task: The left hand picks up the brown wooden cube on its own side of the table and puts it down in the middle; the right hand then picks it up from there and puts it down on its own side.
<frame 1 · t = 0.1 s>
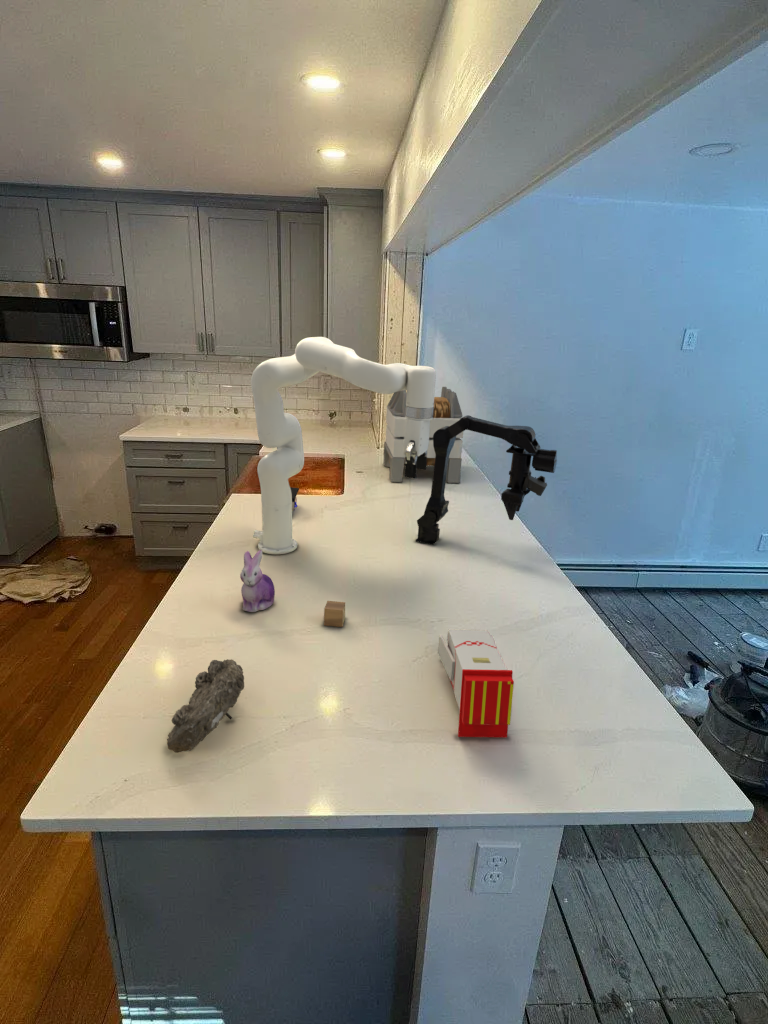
left hand: (415, 473, 160), 31 cm above the counter, tool pointing down, fingers open, 9 cm apart
right hand: (514, 515, 180), 15 cm above the counter, tool pointing down, fingers open, 9 cm apart
transformer: (419, 473, 275), on the counter
fossil: (212, 717, 108), on the counter
figurine: (258, 604, 149), on the counter
toy: (469, 691, 119), on the counter
figurine character: (288, 510, 217), on the counter
brown wooden cube: (334, 622, 142), on the counter
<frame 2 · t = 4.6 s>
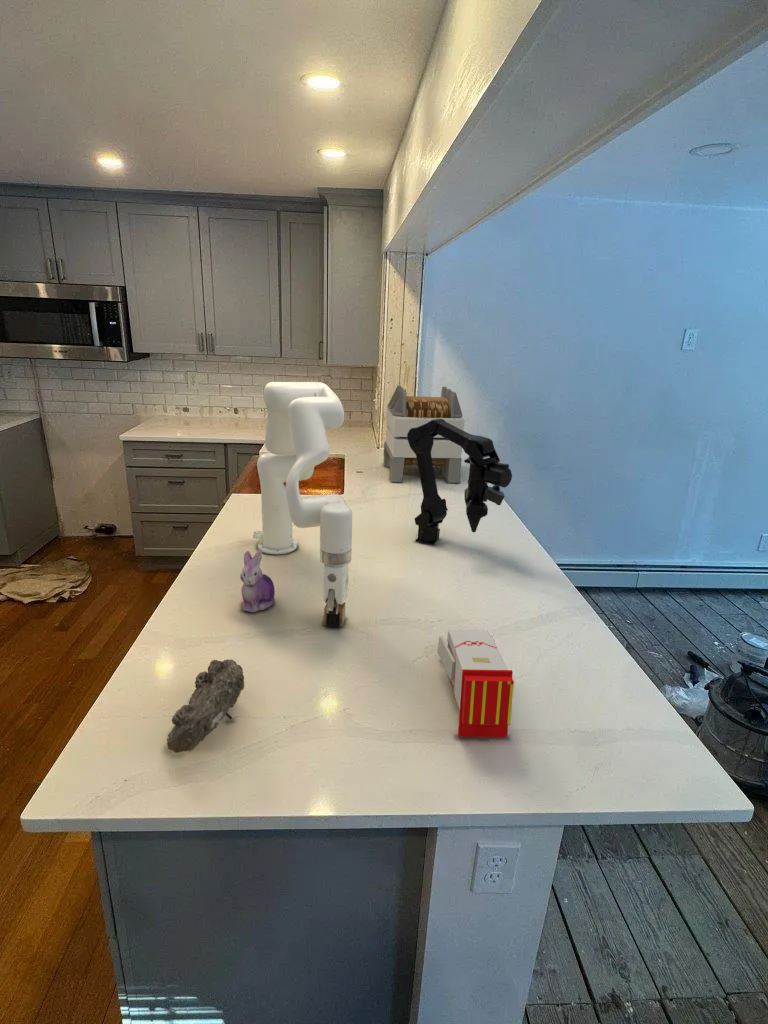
left hand: (334, 620, 142), 0 cm above the counter, tool pointing down, fingers closed on brown wooden cube, 4 cm apart
right hand: (472, 526, 179), 11 cm above the counter, tool pointing down, fingers open, 9 cm apart
brown wooden cube: (334, 622, 142), on the counter, touching left hand
everything else where it was.
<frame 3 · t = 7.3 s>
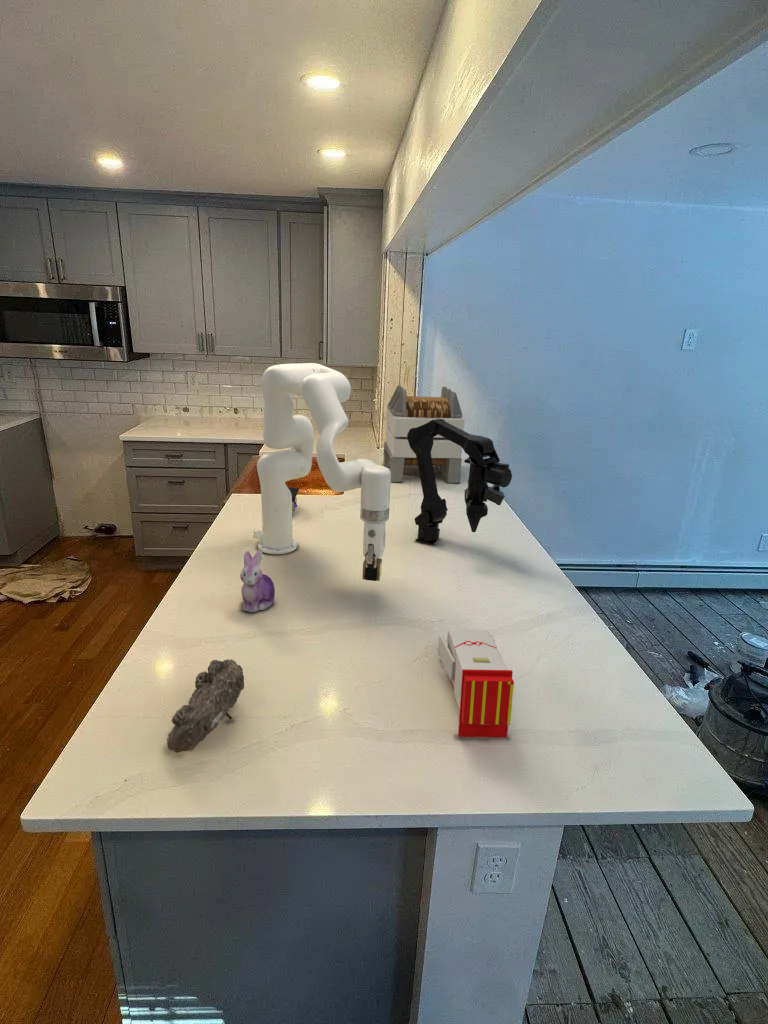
left hand: (372, 575, 154), 6 cm above the counter, tool pointing down, fingers closed on brown wooden cube, 4 cm apart
right hand: (472, 526, 179), 11 cm above the counter, tool pointing down, fingers open, 9 cm apart
brown wooden cube: (371, 576, 154), point 6 cm above the counter, touching left hand
everything else where it was.
when the left hand's fingers open (1 cm above the counter, at t = 10.3 s): brown wooden cube drops 1 cm, on the counter.
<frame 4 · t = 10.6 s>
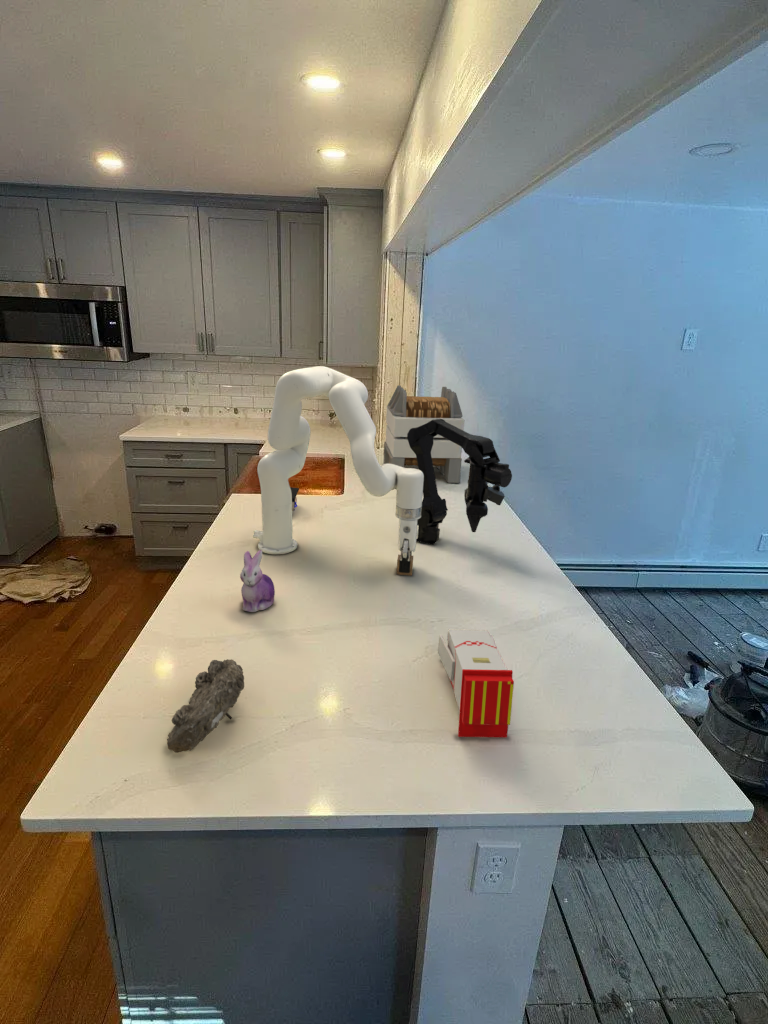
left hand: (405, 566, 170), 2 cm above the counter, tool pointing down, fingers open, 7 cm apart
right hand: (472, 526, 179), 11 cm above the counter, tool pointing down, fingers open, 9 cm apart
brown wooden cube: (404, 572, 171), on the counter
everything else where it was.
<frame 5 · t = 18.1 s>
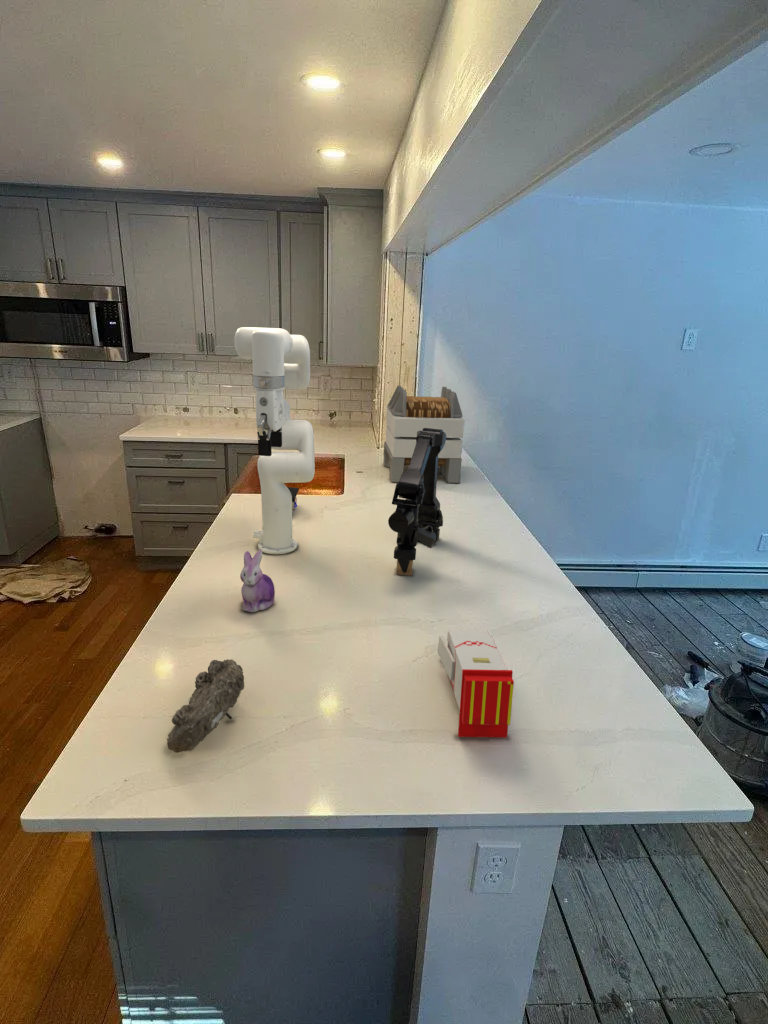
left hand: (270, 451, 145), 39 cm above the counter, tool pointing down, fingers open, 9 cm apart
right hand: (405, 569, 171), 1 cm above the counter, tool pointing down, fingers closed on brown wooden cube, 4 cm apart
brown wooden cube: (404, 572, 171), on the counter, touching right hand
everything else where it was.
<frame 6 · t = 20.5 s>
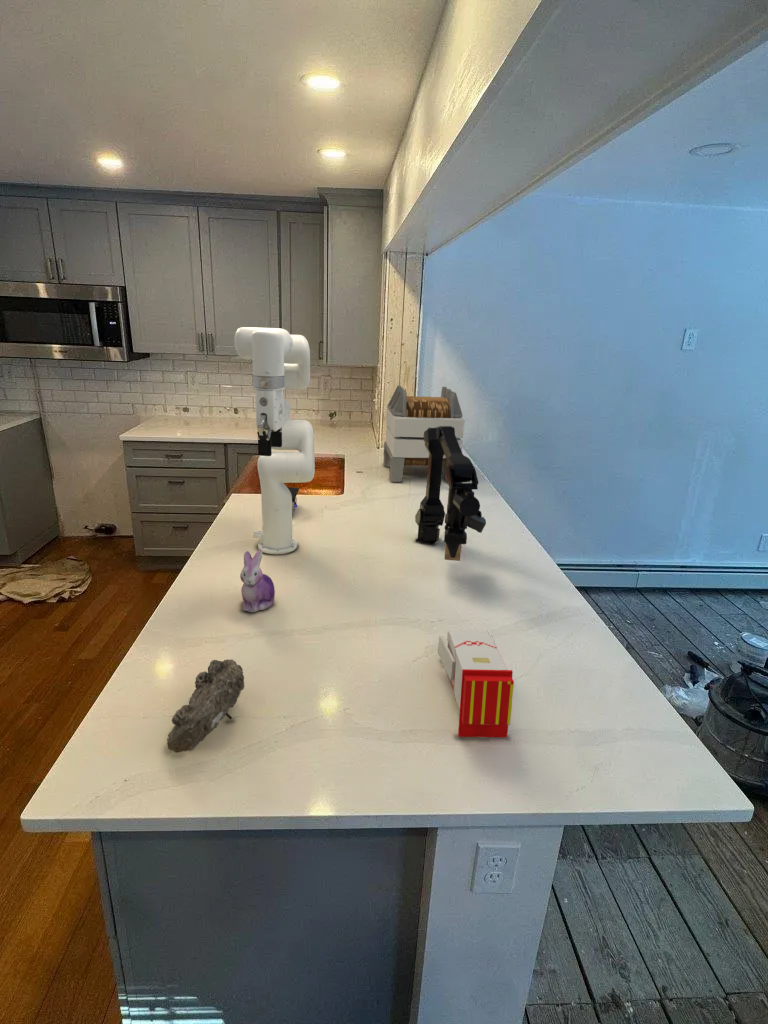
left hand: (270, 451, 145), 39 cm above the counter, tool pointing down, fingers open, 9 cm apart
right hand: (452, 554, 168), 7 cm above the counter, tool pointing down, fingers closed on brown wooden cube, 4 cm apart
brown wooden cube: (452, 557, 168), point 6 cm above the counter, touching right hand
everything else where it was.
when the right hand's fingers open (2 cm above the counter, at t = 22.7 s): brown wooden cube drops 1 cm, on the counter.
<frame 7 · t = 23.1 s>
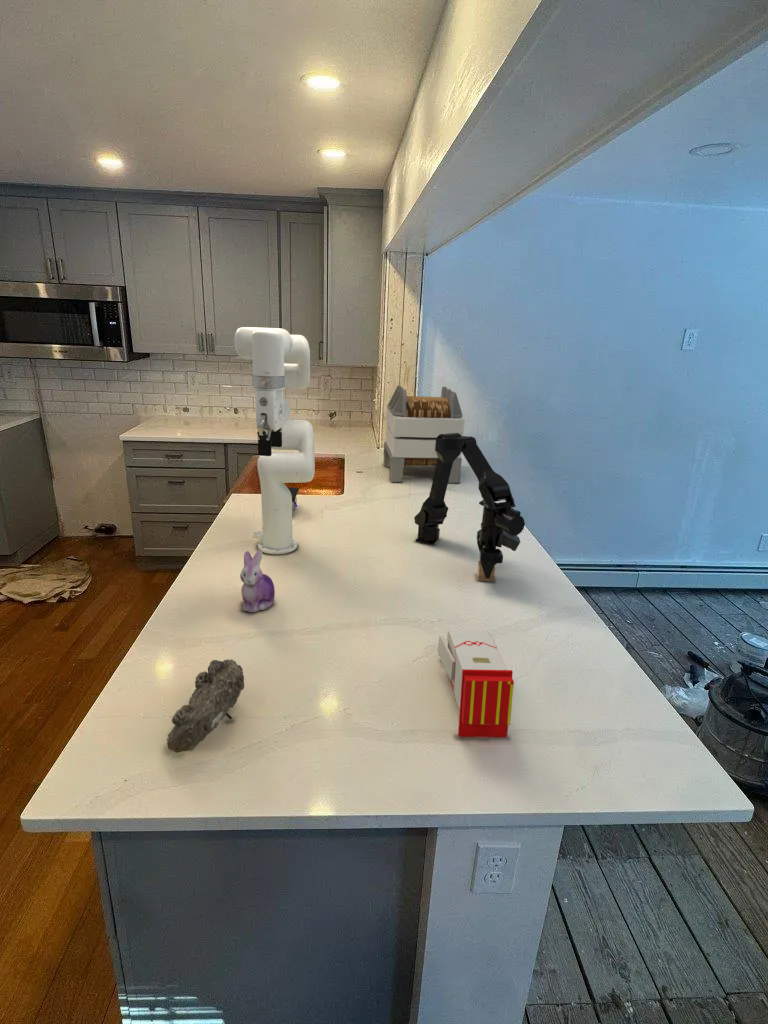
left hand: (270, 451, 145), 39 cm above the counter, tool pointing down, fingers open, 9 cm apart
right hand: (486, 572, 169), 2 cm above the counter, tool pointing down, fingers open, 8 cm apart
brown wooden cube: (485, 578, 169), on the counter
everything else where it was.
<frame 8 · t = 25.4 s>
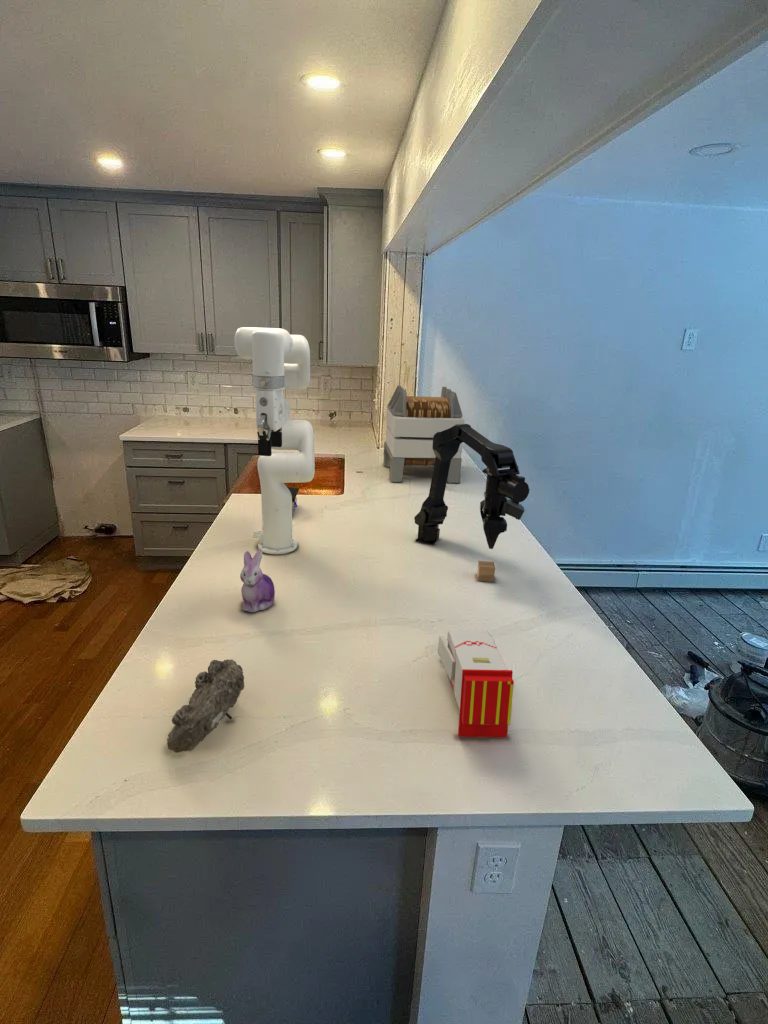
left hand: (270, 451, 145), 39 cm above the counter, tool pointing down, fingers open, 9 cm apart
right hand: (489, 542, 165), 12 cm above the counter, tool pointing down, fingers open, 9 cm apart
nothing on the counter moved.
at the end: brown wooden cube inside the target area (0.1 cm from its centre), on the counter; brown wooden cube tilted 0°; the two hands never held the brown wooden cube at the same time; the left hand is holding nothing; the right hand is holding nothing; brown wooden cube at rest at the end (0.0 cm/s) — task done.
